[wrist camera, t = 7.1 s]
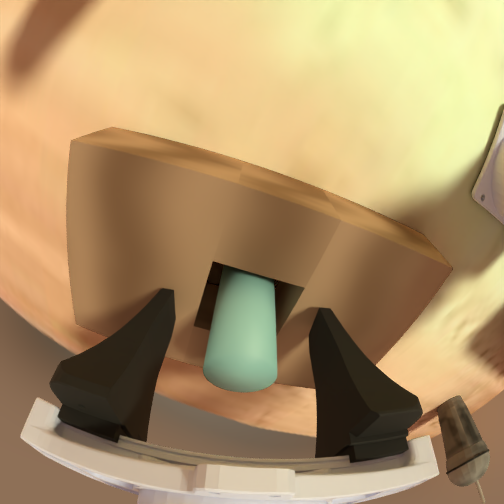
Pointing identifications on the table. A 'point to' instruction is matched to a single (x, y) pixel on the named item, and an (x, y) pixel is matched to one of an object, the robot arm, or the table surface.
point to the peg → (242, 333)
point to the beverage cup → (462, 444)
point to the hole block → (234, 248)
